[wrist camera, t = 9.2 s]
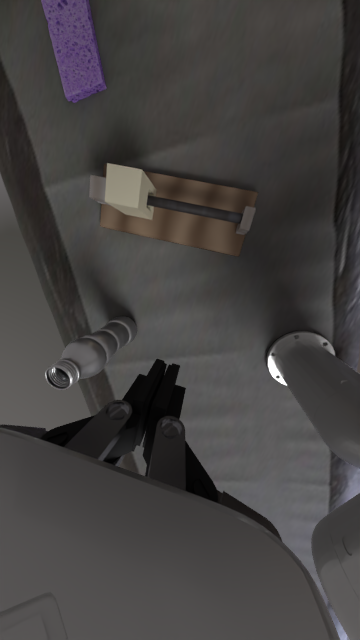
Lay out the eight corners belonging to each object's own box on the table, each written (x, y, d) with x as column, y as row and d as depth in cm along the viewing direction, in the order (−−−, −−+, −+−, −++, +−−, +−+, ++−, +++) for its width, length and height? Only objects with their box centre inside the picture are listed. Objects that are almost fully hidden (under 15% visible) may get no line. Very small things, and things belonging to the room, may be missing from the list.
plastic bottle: (143, 338, 42) (89, 398, 23) (117, 341, 43) (45, 400, 24) (136, 311, 40) (71, 353, 21) (109, 315, 42) (26, 358, 23)
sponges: (86, -16, 27) (78, -37, 25) (108, 92, 30) (102, 81, 28) (47, 4, 28) (36, -14, 26) (72, 106, 31) (64, 97, 30)
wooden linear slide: (255, 195, 31) (267, 178, 24) (237, 256, 34) (244, 254, 28) (108, 168, 33) (85, 145, 27) (104, 227, 36) (83, 219, 30)
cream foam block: (156, 189, 30) (142, 169, 24) (152, 219, 32) (137, 208, 25) (128, 184, 31) (107, 162, 24) (125, 214, 32) (104, 201, 26)
